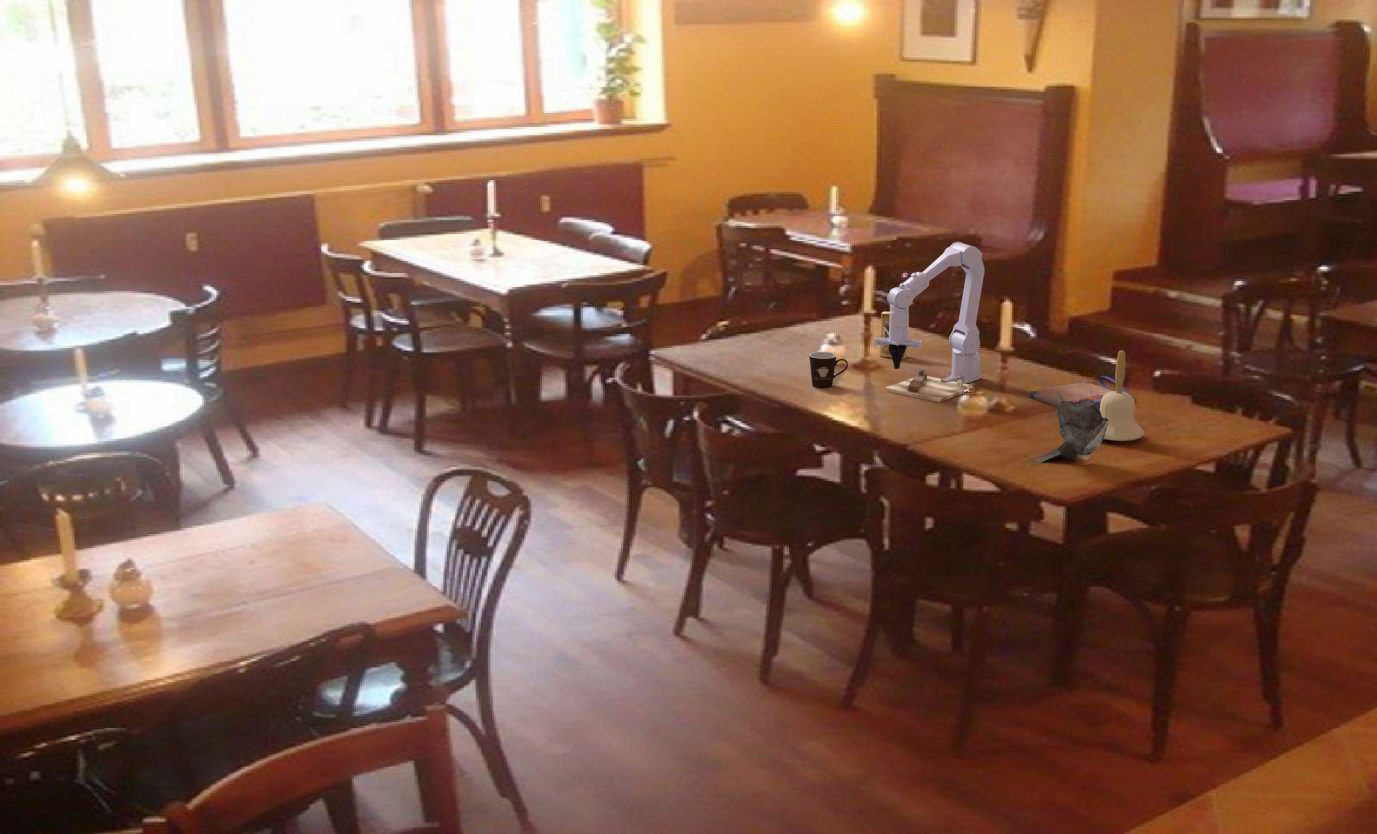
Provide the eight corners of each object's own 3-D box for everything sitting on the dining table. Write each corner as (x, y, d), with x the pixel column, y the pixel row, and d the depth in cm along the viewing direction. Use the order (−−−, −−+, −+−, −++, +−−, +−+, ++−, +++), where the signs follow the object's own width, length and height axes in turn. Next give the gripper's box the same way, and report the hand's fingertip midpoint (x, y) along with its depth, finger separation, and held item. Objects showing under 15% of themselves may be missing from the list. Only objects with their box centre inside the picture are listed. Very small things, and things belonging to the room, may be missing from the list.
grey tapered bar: (915, 377, 448) (915, 368, 447) (927, 378, 447) (928, 369, 446) (906, 391, 433) (906, 381, 432) (919, 392, 431) (919, 382, 430)
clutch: (1026, 400, 429) (1070, 415, 412) (1027, 385, 427) (1071, 399, 411) (1096, 387, 441) (1141, 402, 424) (1097, 372, 439) (1142, 386, 423)
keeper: (945, 391, 433) (945, 380, 432) (940, 389, 434) (940, 379, 433) (963, 386, 438) (964, 376, 437) (958, 385, 439) (959, 374, 438)
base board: (921, 377, 451) (921, 374, 451) (974, 389, 438) (975, 385, 438) (885, 390, 437) (885, 387, 437) (939, 402, 424) (939, 399, 424)
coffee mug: (804, 387, 442) (804, 356, 439) (815, 380, 449) (815, 350, 446) (838, 391, 437) (839, 360, 434) (848, 385, 444) (849, 354, 441)
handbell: (1100, 425, 400) (1107, 341, 393) (1151, 435, 391) (1159, 349, 383) (1077, 438, 388) (1083, 351, 381) (1129, 449, 379) (1137, 360, 372)
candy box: (879, 357, 478) (880, 313, 473) (882, 354, 482) (883, 310, 477) (905, 359, 475) (906, 315, 471) (907, 356, 479) (909, 312, 474)
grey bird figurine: (1078, 475, 360) (1083, 408, 354) (1032, 459, 371) (1036, 395, 366) (1113, 463, 368) (1119, 398, 362) (1067, 449, 379) (1072, 385, 374)
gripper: (873, 327, 434) (871, 369, 438) (919, 330, 430) (917, 373, 434) (877, 322, 441) (876, 364, 445) (923, 325, 436) (921, 367, 440)
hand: (896, 368), depth 440 cm, fingers closed
